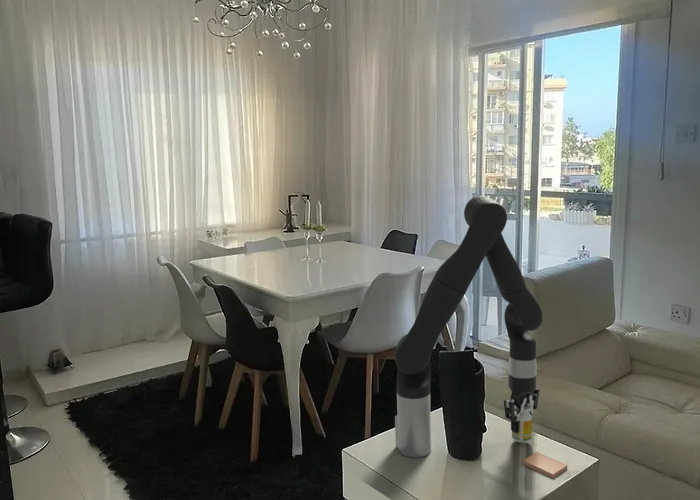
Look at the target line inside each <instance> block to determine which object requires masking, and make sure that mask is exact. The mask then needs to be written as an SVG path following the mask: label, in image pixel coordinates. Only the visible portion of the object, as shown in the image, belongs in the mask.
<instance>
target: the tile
mask: <svg viewBox="0 0 700 500" xmlns="http://www.w3.org/2000/svg"><path fill="white" fill-rule="evenodd" d="M522 464H523V465H524V466H526V467H528V468H531V469H532V470H535V471H537V472H539V473H542V474H544V475H546V476H548V477H551V478H552V479H554V478H555V477H557V476H559V475H560V474H561V473H563V472H565V471H566V470H567V469H568V464H566V463H564V462H562V461H559V460H557V459H555V458H552V457H550V456H548V455H546V454H544V453H540V452H538V451H536V452H534V453H533V454H531V455H530V456H528V457H526V458H524V459H523V460H522Z"/></svg>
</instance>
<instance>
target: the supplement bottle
mask: <svg viewBox="0 0 700 500" xmlns="http://www.w3.org/2000/svg"><path fill="white" fill-rule="evenodd" d="M515 408H516V409H519V408H518V407H515ZM529 412H530V407H529V406H525V407H524V409H523V413H521V414H520V418H519V432H518V433H515V432H512V431H511V437H512V439H513V440H514V441H516V442H518V443H528V442H530V441H532V434H533V433H532V432H533V431H532V429H533V428H532V427H533V424H532V423H533V415H532V416H531V414H530V413H529ZM516 414H517V412H515V416H516Z"/></svg>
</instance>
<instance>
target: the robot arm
mask: <svg viewBox="0 0 700 500" xmlns="http://www.w3.org/2000/svg"><path fill="white" fill-rule="evenodd" d="M507 213H508V212H507V210H506V209H505V207H504V206H503V205H502V204H500V203H499V202H498V201H495V200H494V199H493V198H491V197H489V196H486V195H477V196H473V197H472V198H471V199H469V200H468V201H467V203H466V204H465V207H464V211H463V215H464V220H465V223H466V224H467V225H468V229H467V231H466V233H465V235H464V237H463V239H462V241H461V243H460V245H459V247H458V248H457V249H456V251H454V252H453V253H452V255H450V256H449V257H448V258H447V259H446V260H445V261H444V262H443V263H442V264H441V265H440V266H439V267H438V269H437V271H436V272H435V274H434V276H433V277H432V279H431V282H430V283H429V284H428V285H429V286H428V287H427V289H426V292H425V294H424V297H423V299H422V301H421V304H420V308H419V310H418V313H417V316H416V318H415V321H414V322H413V324H412V326H411V328H410V329H409V331H408V333H407V334H405V335H403V336H402V337H401V338H400V339H399V341H398V343H397V345H396V348H395V352H394V362H395V364H396V367H397V373H396V374H397V375H396V377H397V378H396V403H397V404H396V407H397V408H396V411H397V412H396V413H397V414H396V415H395V416H394V429H395V430H394V432H395V433H394V434H395V436H394V437H395V447H396V448H397V449H398V450H397V451H398V452H399V453H400V454H401V455H402V456H405V457H409V458H422V457H425V456H428V455H429V454H430V453H431V452H432V442H431V441H432V440H431V439H432V431H431V428H432V427H431V426H432V425H431V423H432V422H431V421H432V420H431V376H432V374H431V355H432V352H433V350H434V347H435V346H436V343H437V341H438V339H439V337H440V336H441V333H442V331H444V329H445V327H446V326H447V324H448V323H449V321H450V320H451V318H452V317H453V316H454V313H455V312H456V310H457V309H458V307H459V306H460V304H461V302H462V301H463V299H464V297H465V296H466V295H465V294H466V293H467V291H468V289H469V287H470V284H471V283H472V281H473V280H474V277H475V276H476V275H477V272H478V270H479V268H480V267H481V265H482V263H483V261H484V259H485V257H486V260H487V263H488V265H489V267H490V270H491V272H492V275H493V277H494V280H495V283H496V285H497V288H498V290H499V291H498V292H499V293H500V295H501V297H502V299H503V300H505V302H508V304H507V305H506V306H505V310H504V314H503V315H504V317H503V318H504V324H505V328H506V333H507V337H508V340H509V358H508V359H509V360H508V372H507V373H508V375H507V376H508V380H507V382H508V383H507V385H508V388H509V389H510V391H511V394H510V398H509V399H504V400H503V407H504V408H503V409H504V414H505V416H504V417H505V419H506V420H509V421H510V431H511V433H512V432H515V433H518V432H519V418H520V414H521V413H523V409H524V407H525V406H529V407H530V412H529V413H530V414H531V416H532V417H533V414H534V411H535V410H537V409H538V405H539V404H538V403H539V396H540V388H537V372H538V371H537V370H538V369H537V341H536V338H535V337H533V335H531V334H530V333H529V331H530V332H531V331H532V332H533V331H536V330H537V329H539V328H540V327H541V326H542V322H543V311H542V309H541V306H540V305H539V303H538V301H537V299H536V298H535V297H534V296H533V294H532V293H531V291H530V289H528V287H527V284H526V281H525V279H524V276H523V274H522V271H521V269H520V266H519V264H518V263H517V260H516V259H515V257H514V255H513V253H512V251H511V250H510V247H509V246H508V245H507V243H506V240H505V238H504V236H503V234H502V233H503V231H504V229H505V228H506V225H507V221H508V214H507ZM515 407H518V408H519V409H516V408H515ZM515 412H517V414H516V416H515Z"/></svg>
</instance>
